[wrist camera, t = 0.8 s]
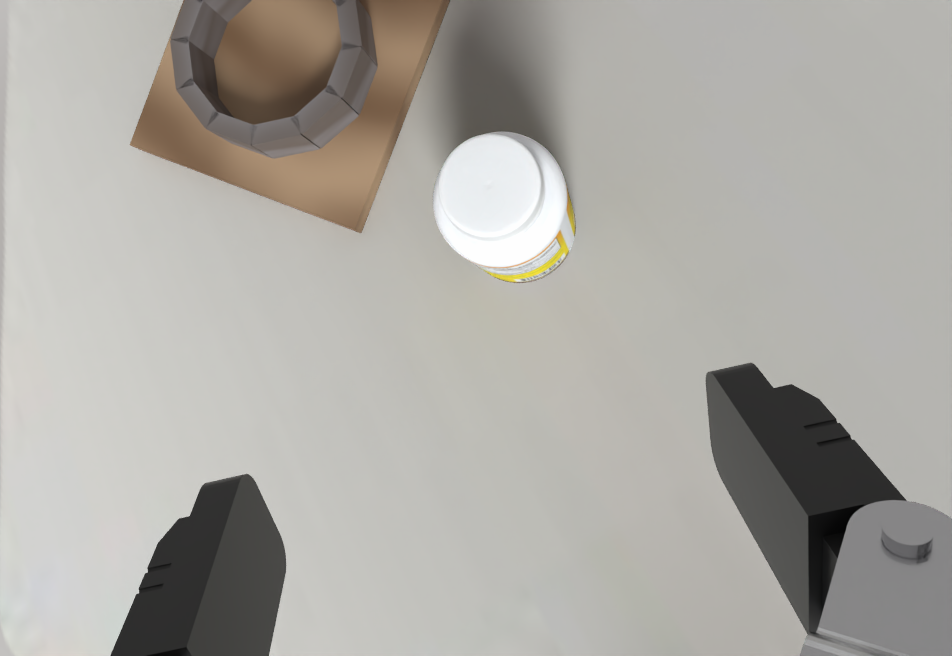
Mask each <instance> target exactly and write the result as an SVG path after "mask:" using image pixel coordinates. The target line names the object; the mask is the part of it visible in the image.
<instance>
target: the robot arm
mask: <svg viewBox="0 0 952 656" xmlns="http://www.w3.org/2000/svg"><path fill="white" fill-rule="evenodd" d="M706 392H707V403H708V415H709V427H710V439H711V447H712V453H713V457H714V461H715V464H716V467H717V470H718V472H719V475H720V477H721V479H722V481H723V483H724V485H725V487H726V488H727V490H728V492H729V494H730V496H731V497H732V499H733V501H734V503H735V505H736V506H737V508H738V510H739V512H740V514H741V515H742V517H743V519H744V521H745V522H746V524H747V526H748V528H749V530H750V531H751V533H752V535H753V537H754V539H755V540H756V542H757V544H758V546H759V548H760V549H761V551H762V553H763V555H764V557H765V558H766V560H767V562H768V564H769V566H770V567H771V569H772V571H773V573H774V575H775V576H776V578H777V580H778V582H779V583H780V585H781V587H782V589H783V591H784V592H785V594H786V596H787V598H788V600H789V601H790V603H791V605H792V607H793V609H794V610H795V612H796V614H797V616H798V618H799V619H800V621H801V623H802V625H803V627H804V628H805V630H806V632H807V634H808V635H807V637H806V639H805V641H804V644H803V647H802V650H801V654H800V656H952V519H951V518H950V517H948V516H947V515H945V514H944V513H942V512H940V511H938V510H936V509H934V508H931V507H929V506H926V505H923V504H919V503H915V502H909V501H906V499H905V498H904V497H903V496H902V495H901V494H900V492H899V491H898V490H897V489H896V488H895V487H894V485H893V484H892V483H891V482H890V481H889V480H888V479H887V477H886V476H885V475H884V474H883V473H882V472H881V470H880V469H879V468H878V467H877V466H876V465H875V463H874V462H873V461H872V460H871V459H870V458H869V457H868V455H867V454H866V453H865V452H864V451H863V450H862V448H861V447H860V446H859V445H858V444H857V443H856V441H855V440H852V439H851V437H850V434H849V433H848V432H847V431H846V430H845V429H844V428H843V426H842V425H841V424H840V423H837V421H836V418H835V417H834V416H833V415H832V414H831V412H830V411H829V410H828V409H827V408H826V407H825V405H824V404H823V403H822V402H821V401H820V400H819V399H818V398H816V397H814V396H812V395H811V394H809V393H807V392H805V391H803V390H801V389H799V388H797V387H796V386H794V385H792V384H791V385H786V386H782V387H777V388H773V387H772V386H771V384H770V383H769V382H768V381H767V379H766V378H765V377H764V376H763V374H762V373H761V372H760V370H759V369H758V368H757V367H756V366H755V365H754V364H753V363H747V364H743V365H738V366H734V367H729V368H725V369H720V370H716V371H711V372H708V373H707V375H706ZM285 573H286V555H285V549H284V544H283V541H282V538H281V536H280V533H279V531H278V529H277V527H276V525H275V523H274V521H273V518H272V516H271V514H270V512H269V510H268V508H267V506H266V504H265V501H264V499H263V497H262V495H261V493H260V491H259V489H258V486H257V484H256V482H255V481H254V479H253V478H252V477H251V476H250V475H248V474H244V475H240V476H235V477H231V478H226V479H222V480H218V481H213V482H209V483H205V484H204V485H203V486H202V487H201V489H200V491H199V494H198V496H197V499H196V502H195V504H194V507H193V509H192V512H191V514H190V516H189V517H185V518H180V519H178V520H177V522H176V523H175V524H174V525H173V526H172V527H171V529H170V530H169V531H168V532H167V533H166V534H165V536H164V537H163V538H162V539H161V540H160V541H159V543H158V544H157V547H156V549H155V552H154V554H153V556H152V559H151V561H150V563H149V566H148V573H145V575H144V578H143V580H142V582H141V585H140V587H139V594H136V596H135V599H134V601H133V604H132V606H131V608H130V611H129V613H128V615H127V618H126V620H125V623H124V625H123V627H122V630H121V632H120V634H119V637H118V639H117V641H116V644H115V646H114V649H113V651H112V653H111V656H269V652H270V647H271V642H272V637H273V632H274V627H275V622H276V617H277V612H278V608H279V603H280V598H281V593H282V588H283V583H284V578H285Z"/></svg>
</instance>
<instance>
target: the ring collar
mask: <svg viewBox="0 0 952 656" xmlns="http://www.w3.org/2000/svg"><path fill="white" fill-rule="evenodd" d="M449 2H450V0H184V1H183V4H182V6H181V9H180V12H179V14H178V17H177V20H176V22H175V25H174V28H173V31H172V33H171V36H170V39H169V41H168V44H167V47H166V49H165V52H164V55H163V57H162V60H161V63H160V65H159V68H158V71H157V73H156V76H155V79H154V81H153V84H152V87H151V90H150V92H149V95H148V98H147V100H146V103H145V106H144V108H143V111H142V114H141V116H140V119H139V122H138V124H137V127H136V130H135V132H134V135H133V138H132V141H131V143H130V145H131V146H133V147H136V148H138V149H140V150H142V151H145V152H148V153H150V154H153V155H156V156H158V157H161V158H164V159H166V160H169V161H171V162H174V163H177V164H179V165H182V166H185V167H187V168H190V169H193V170H195V171H198V172H201V173H203V174H206V175H208V176H211V177H214V178H216V179H219V180H222V181H224V182H227V183H230V184H232V185H235V186H238V187H240V188H243V189H245V190H248V191H251V192H253V193H256V194H259V195H261V196H264V197H267V198H269V199H272V200H274V201H277V202H280V203H282V204H285V205H288V206H290V207H293V208H296V209H298V210H301V211H304V212H306V213H309V214H311V215H314V216H317V217H319V218H322V219H325V220H327V221H330V222H333V223H335V224H338V225H341V226H343V227H346V228H348V229H351V230H354V231H356V232H359V233H361V232H362V230H363V227H364V224H365V222H366V219H367V217H368V214H369V211H370V209H371V206H372V203H373V201H374V198H375V196H376V193H377V190H378V188H379V185H380V183H381V180H382V177H383V175H384V172H385V169H386V167H387V164H388V162H389V159H390V156H391V154H392V151H393V148H394V146H395V143H396V141H397V138H398V135H399V133H400V130H401V128H402V125H403V122H404V120H405V117H406V114H407V112H408V109H409V107H410V104H411V101H412V99H413V96H414V93H415V91H416V88H417V86H418V83H419V80H420V78H421V75H422V73H423V70H424V67H425V65H426V62H427V59H428V57H429V54H430V52H431V49H432V46H433V44H434V41H435V39H436V36H437V33H438V31H439V28H440V25H441V23H442V20H443V18H444V15H445V12H446V10H447V7H448V4H449Z"/></svg>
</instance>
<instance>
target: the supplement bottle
mask: <svg viewBox="0 0 952 656" xmlns="http://www.w3.org/2000/svg"><path fill="white" fill-rule="evenodd" d="M433 209H434V215H435V219H436V223H437V225H438V228H439V230H440V232H441V234H442V235H443V237H444V238H445V240H446V241H447V243H448V244H449V245H450V246H451V247H452V248H453V249H454V250H455V251H456V252H457V253H459V254H460V255H461V256H462V257H464V258H466V259H467V260H469V261H470V262H472V263H473V264H475V265H476V266H478V267H479V268H481V269H483V270H484V271H486V272H487V273H488V274H490V275H492V276H494V277H495V278H498V279H500V280H503V281H507V282H512V283H527V282H532V281H536V280H539V279H542V278H544V277H546V276H548V275H549V274H551V273H552V272H554V271H555V270H556V269H557V268H558V267H559V266H560V265H561V264H562V263H563V262H564V260H565V259H566V257H567V256H568V254H569V252H570V250H571V248H572V245H573V242H574V238H575V231H576V223H575V216H574V211H573V208H572V204H571V200H570V197H569V193H568V189H567V185H566V182H565V179H564V176H563V173H562V171H561V169H560V167H559V165H558V163H557V161H556V160H555V158H554V157H553V156H552V155H551V153H550V152H549V151H548V150H547V149H546V148H545V147H544V146H542V145H541V144H539V143H538V142H537V141H535V140H533V139H531V138H529V137H527V136H524V135H521V134H518V133H513V132H504V131H500V132H491V133H486V134H482V135H478V136H475V137H472V138H470V139H468V140H466V141H464V142H463V143H461V144H460V145H459V146H457V147H456V148H455V149H454V150H453V151H452V152H451V153H450V155H449V156H448V157H447V159H446V161H445V162H444V164H443V166H442V168H441V170H440V172H439V174H438V176H437V179H436V182H435V186H434V192H433Z"/></svg>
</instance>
